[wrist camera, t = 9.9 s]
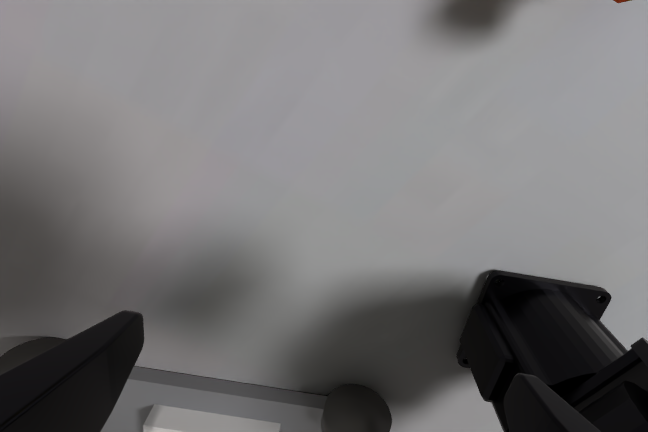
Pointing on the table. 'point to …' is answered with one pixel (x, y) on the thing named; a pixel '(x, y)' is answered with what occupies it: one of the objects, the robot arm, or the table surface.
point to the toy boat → (621, 1)
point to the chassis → (225, 403)
